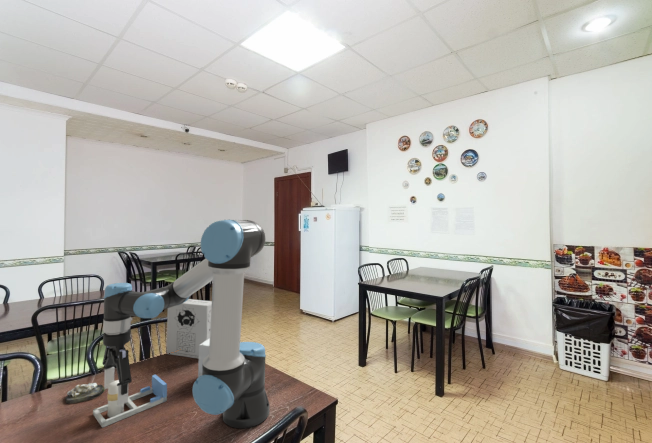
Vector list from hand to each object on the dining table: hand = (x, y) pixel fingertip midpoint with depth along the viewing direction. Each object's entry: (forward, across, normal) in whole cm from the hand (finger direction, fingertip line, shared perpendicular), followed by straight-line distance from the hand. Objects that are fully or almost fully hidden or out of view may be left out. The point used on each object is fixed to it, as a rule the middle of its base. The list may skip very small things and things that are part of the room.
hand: (115, 395), depth 102 cm
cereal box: (+6, +26, -39) cm, 47 cm away
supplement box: (+6, -3, -34) cm, 34 cm away
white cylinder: (+6, 0, 0) cm, 6 cm away
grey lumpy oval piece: (+7, +20, +3) cm, 22 cm away
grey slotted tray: (+6, 0, -5) cm, 8 cm away
